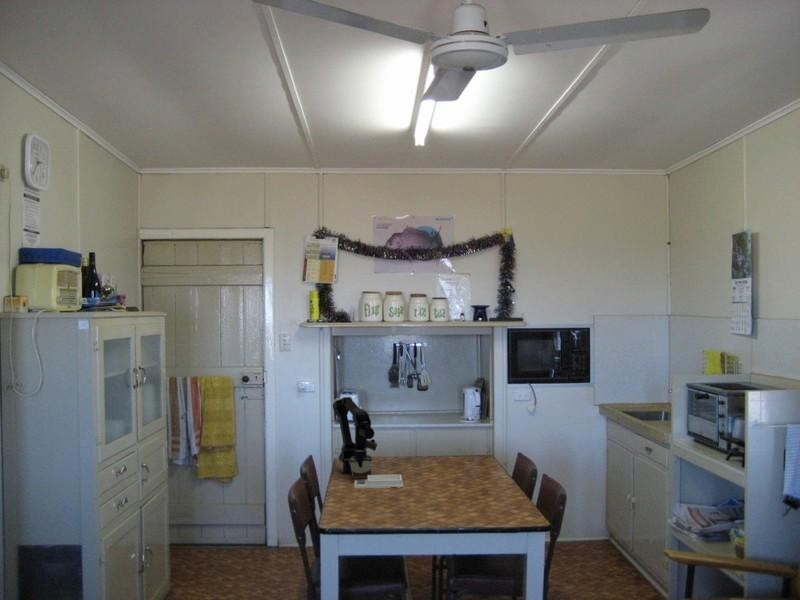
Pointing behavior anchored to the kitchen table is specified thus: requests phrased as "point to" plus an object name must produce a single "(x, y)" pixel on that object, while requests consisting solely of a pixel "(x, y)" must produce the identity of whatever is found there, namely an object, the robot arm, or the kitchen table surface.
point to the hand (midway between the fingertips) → (360, 466)
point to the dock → (380, 481)
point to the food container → (363, 471)
